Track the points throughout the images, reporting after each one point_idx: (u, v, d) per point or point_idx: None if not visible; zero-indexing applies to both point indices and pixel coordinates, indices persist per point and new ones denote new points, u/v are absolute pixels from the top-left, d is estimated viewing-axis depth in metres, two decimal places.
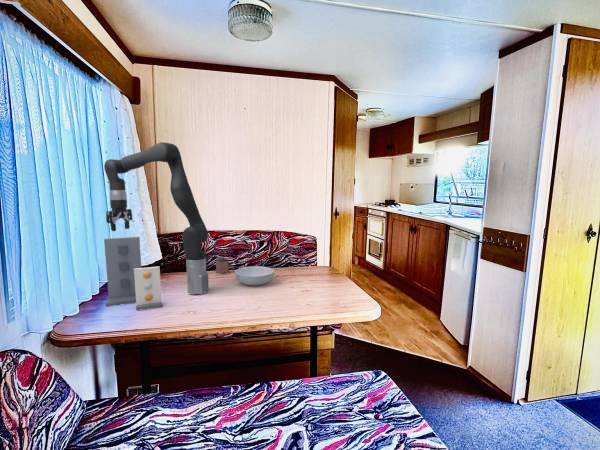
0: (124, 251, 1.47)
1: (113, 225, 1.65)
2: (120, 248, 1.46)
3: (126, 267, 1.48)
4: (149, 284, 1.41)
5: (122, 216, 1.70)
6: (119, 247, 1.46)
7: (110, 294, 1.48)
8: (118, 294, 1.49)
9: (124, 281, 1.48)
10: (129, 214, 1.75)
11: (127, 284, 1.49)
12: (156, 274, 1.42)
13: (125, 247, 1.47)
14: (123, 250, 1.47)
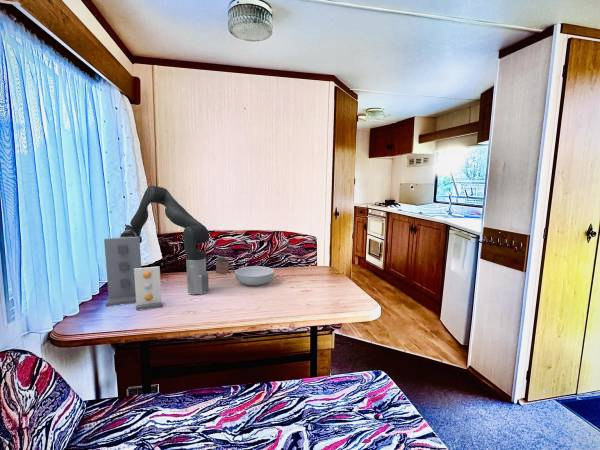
0: (124, 251, 1.47)
1: None
2: (120, 248, 1.46)
3: (126, 267, 1.48)
4: (149, 284, 1.41)
5: None
6: (119, 247, 1.46)
7: (110, 294, 1.48)
8: (118, 294, 1.49)
9: (124, 281, 1.48)
10: None
11: (127, 284, 1.49)
12: (156, 274, 1.42)
13: (125, 247, 1.47)
14: (123, 250, 1.47)
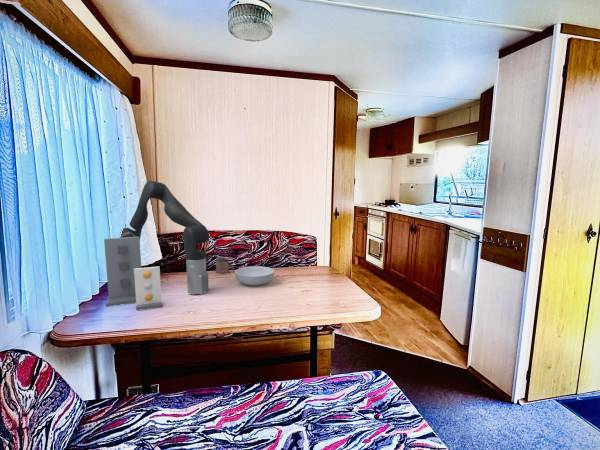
0: (124, 251, 1.47)
1: None
2: (120, 248, 1.46)
3: (126, 267, 1.48)
4: (149, 284, 1.41)
5: None
6: (119, 247, 1.46)
7: (110, 294, 1.48)
8: (118, 294, 1.49)
9: (124, 281, 1.48)
10: None
11: (127, 284, 1.49)
12: (156, 274, 1.42)
13: (125, 247, 1.47)
14: (123, 250, 1.47)
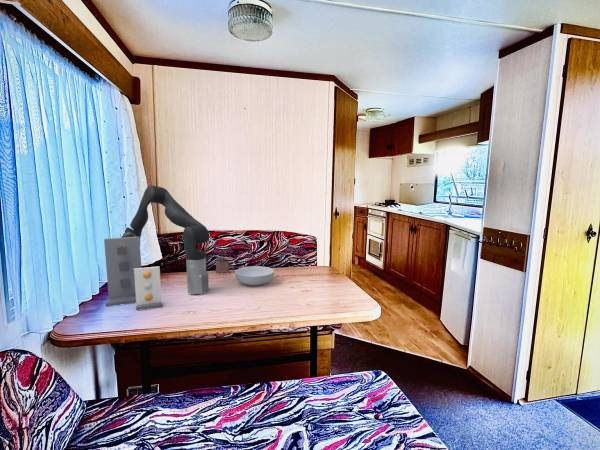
0: (123, 252, 1.44)
1: None
2: (119, 249, 1.43)
3: (126, 267, 1.48)
4: (149, 284, 1.41)
5: None
6: (118, 248, 1.43)
7: (110, 294, 1.48)
8: (118, 294, 1.49)
9: (124, 281, 1.48)
10: None
11: (127, 284, 1.49)
12: (156, 274, 1.42)
13: (124, 248, 1.44)
14: (122, 251, 1.44)
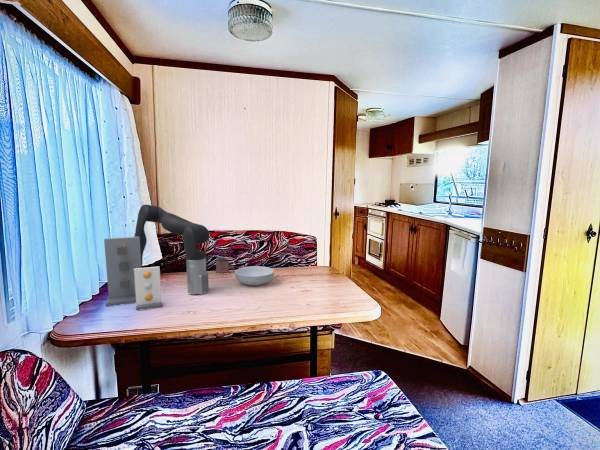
0: (123, 252, 1.44)
1: None
2: (119, 249, 1.43)
3: (126, 267, 1.48)
4: (149, 284, 1.41)
5: None
6: (118, 248, 1.43)
7: (110, 294, 1.48)
8: (118, 294, 1.49)
9: (124, 282, 1.48)
10: None
11: (127, 285, 1.48)
12: (156, 274, 1.42)
13: (124, 248, 1.44)
14: (122, 251, 1.44)
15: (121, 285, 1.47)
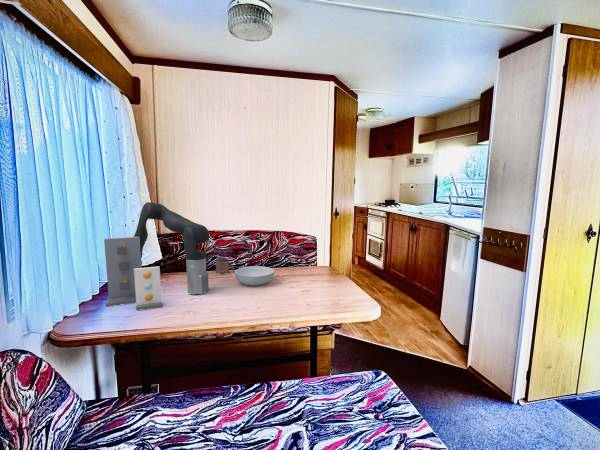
0: (123, 252, 1.44)
1: None
2: (119, 249, 1.43)
3: (126, 267, 1.48)
4: (149, 284, 1.41)
5: None
6: (118, 248, 1.43)
7: (110, 294, 1.48)
8: (118, 294, 1.49)
9: (123, 283, 1.46)
10: None
11: (126, 286, 1.46)
12: (156, 274, 1.42)
13: (124, 248, 1.44)
14: (122, 251, 1.44)
15: (120, 286, 1.45)
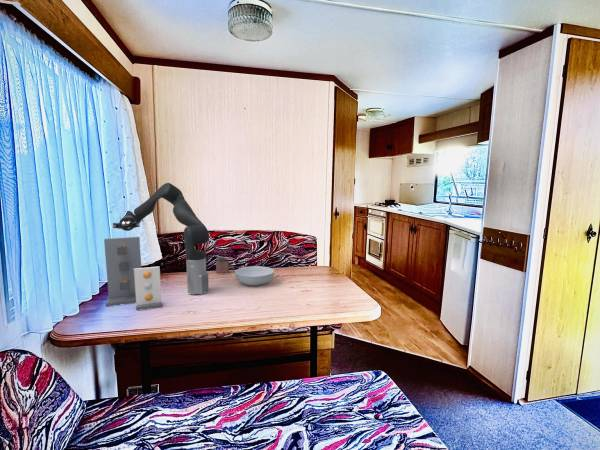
0: (123, 252, 1.44)
1: (122, 225, 1.63)
2: (119, 249, 1.43)
3: (126, 267, 1.48)
4: (149, 284, 1.41)
5: (125, 222, 1.69)
6: (118, 248, 1.43)
7: (110, 294, 1.48)
8: (118, 294, 1.49)
9: (123, 283, 1.46)
10: (134, 223, 1.69)
11: (126, 286, 1.46)
12: (156, 274, 1.42)
13: (124, 248, 1.44)
14: (122, 251, 1.44)
15: (120, 286, 1.45)
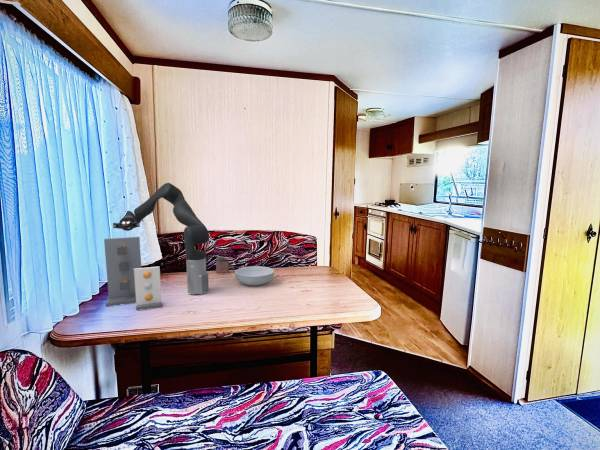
0: (123, 252, 1.44)
1: (122, 225, 1.63)
2: (119, 249, 1.43)
3: (126, 267, 1.48)
4: (149, 284, 1.41)
5: (125, 222, 1.69)
6: (118, 248, 1.43)
7: (110, 294, 1.48)
8: (118, 294, 1.49)
9: (123, 283, 1.46)
10: (134, 223, 1.69)
11: (126, 286, 1.46)
12: (156, 274, 1.42)
13: (124, 248, 1.44)
14: (122, 251, 1.44)
15: (120, 286, 1.45)
